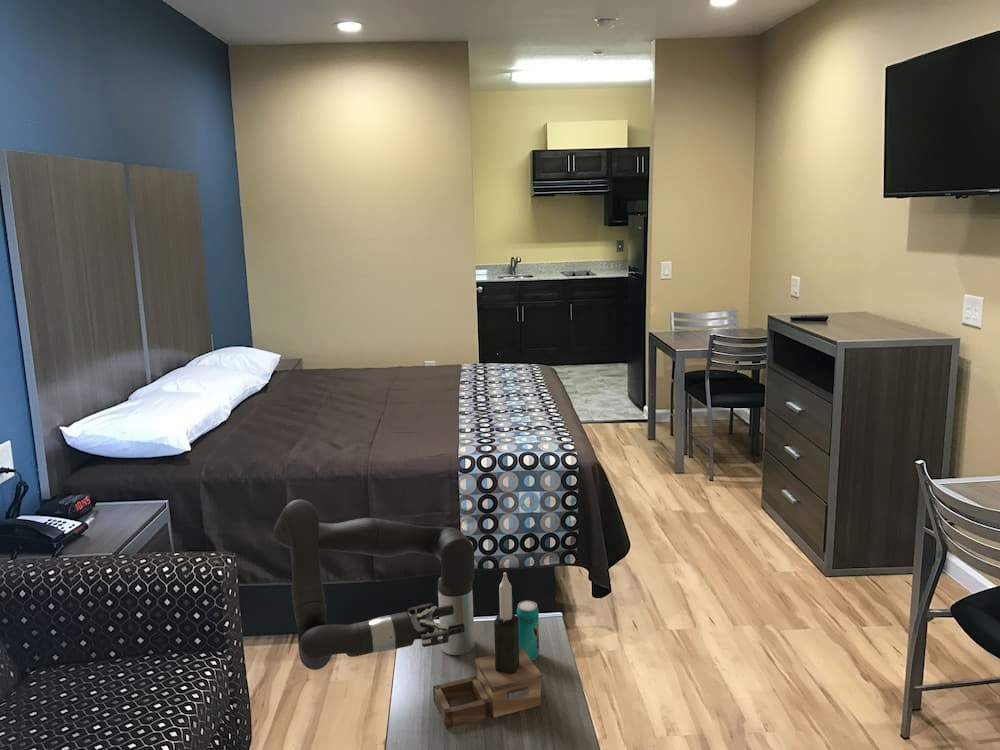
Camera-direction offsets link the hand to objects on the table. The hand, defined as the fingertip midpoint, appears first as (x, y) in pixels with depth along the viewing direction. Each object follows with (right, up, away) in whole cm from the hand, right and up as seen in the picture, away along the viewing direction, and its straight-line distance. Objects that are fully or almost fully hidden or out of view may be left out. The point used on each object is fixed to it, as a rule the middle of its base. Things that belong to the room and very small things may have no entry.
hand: (458, 617), depth 181 cm
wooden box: (+7, -23, +7) cm, 25 cm away
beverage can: (+17, -19, +26) cm, 36 cm away
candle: (+12, -14, +7) cm, 20 cm away
